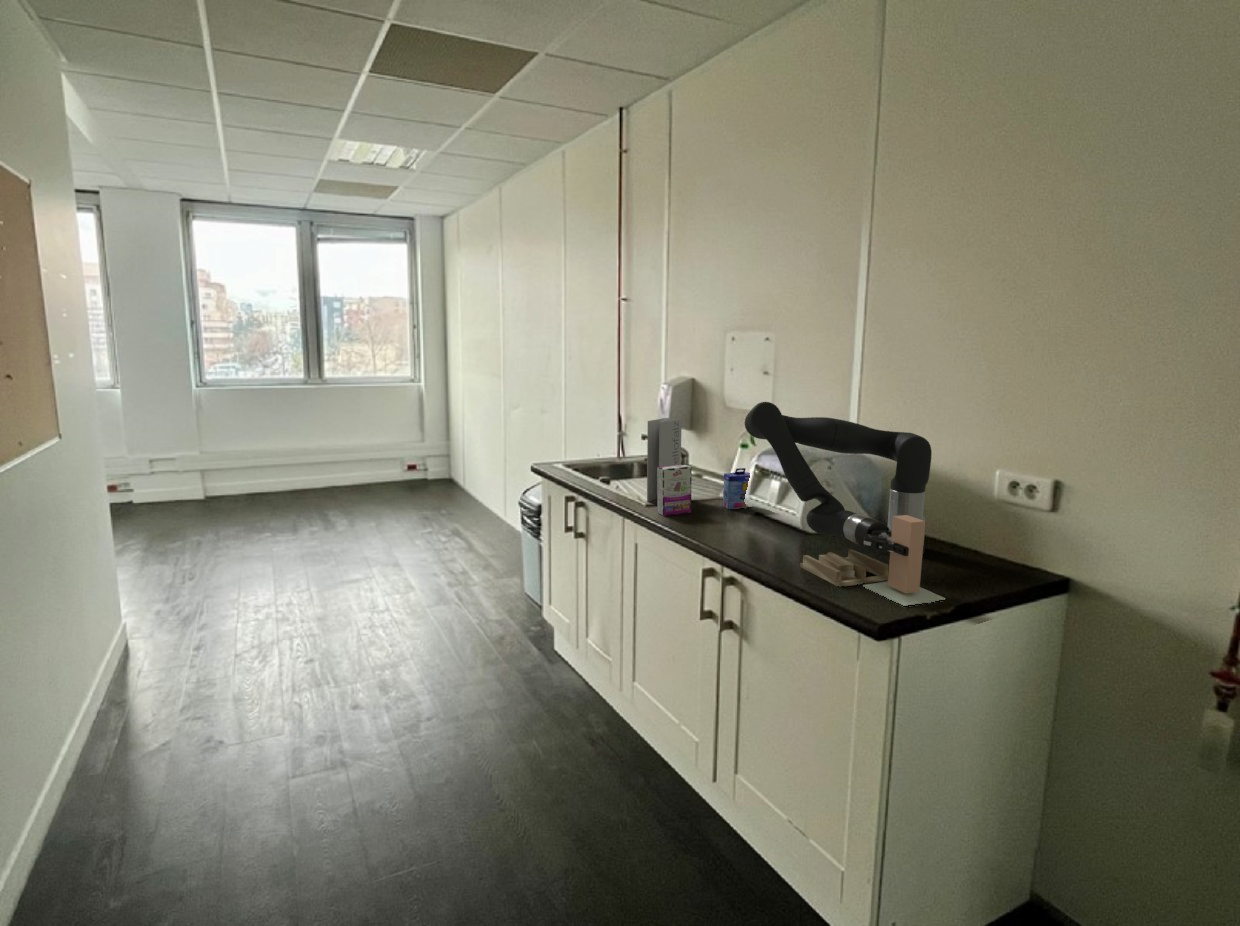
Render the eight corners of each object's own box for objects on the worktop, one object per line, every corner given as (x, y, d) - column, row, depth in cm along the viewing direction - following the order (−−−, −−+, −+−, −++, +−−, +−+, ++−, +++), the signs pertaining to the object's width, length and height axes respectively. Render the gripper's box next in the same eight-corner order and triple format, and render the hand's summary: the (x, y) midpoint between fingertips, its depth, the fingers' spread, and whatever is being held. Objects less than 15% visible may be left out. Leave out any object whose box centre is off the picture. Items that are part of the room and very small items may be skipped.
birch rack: (848, 560, 192) (849, 548, 191) (890, 579, 177) (891, 566, 176) (799, 566, 187) (800, 554, 186) (839, 587, 172) (840, 573, 171)
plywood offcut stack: (831, 568, 187) (831, 553, 186) (855, 582, 176) (856, 566, 175) (816, 569, 185) (817, 554, 185) (840, 583, 175) (841, 567, 174)
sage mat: (902, 581, 176) (902, 579, 176) (945, 600, 163) (945, 598, 163) (862, 586, 172) (863, 584, 172) (904, 607, 159) (904, 605, 159)
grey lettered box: (659, 504, 256) (660, 422, 251) (646, 502, 259) (647, 421, 254) (680, 497, 267) (681, 418, 262) (668, 495, 270) (669, 417, 265)
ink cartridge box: (727, 509, 248) (729, 469, 245) (721, 506, 253) (722, 466, 250) (753, 508, 250) (755, 468, 248) (747, 504, 255) (748, 465, 253)
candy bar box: (684, 510, 248) (685, 464, 245) (691, 513, 243) (692, 466, 240) (656, 513, 243) (656, 466, 240) (662, 516, 239) (663, 468, 236)
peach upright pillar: (901, 582, 171) (906, 514, 168) (919, 591, 165) (925, 521, 162) (887, 584, 169) (892, 516, 166) (905, 593, 164) (911, 522, 161)
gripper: (843, 519, 176) (891, 538, 160) (889, 514, 180) (940, 532, 165) (841, 548, 177) (889, 570, 161) (887, 543, 182) (938, 563, 166)
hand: (915, 550), depth 163 cm, fingers closed on peach upright pillar, 4 cm apart
